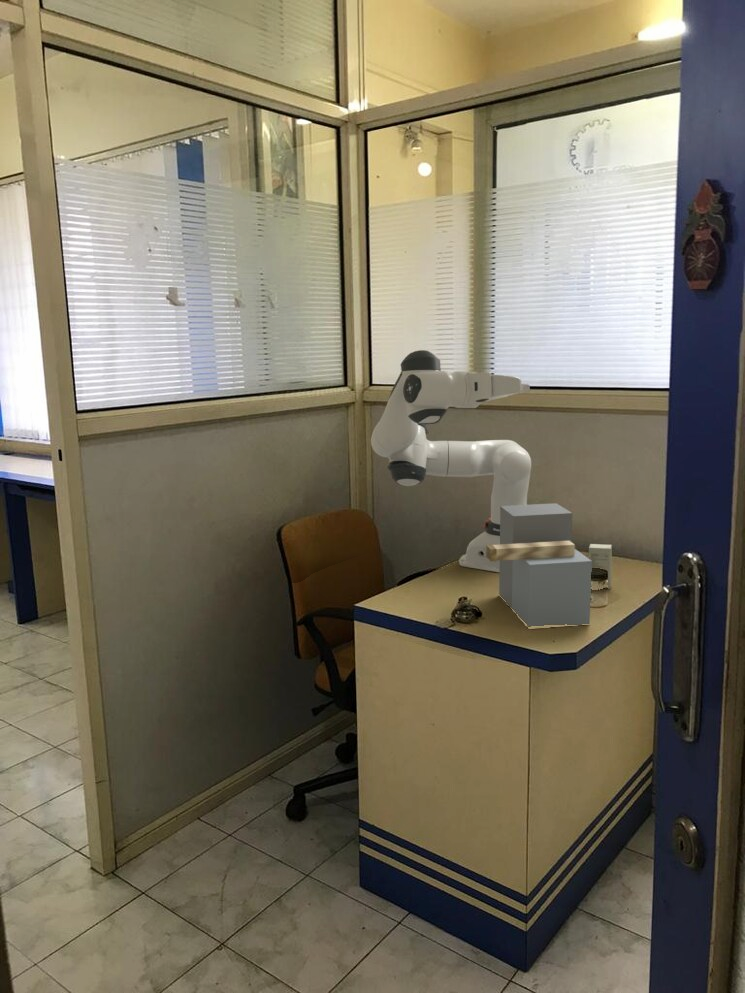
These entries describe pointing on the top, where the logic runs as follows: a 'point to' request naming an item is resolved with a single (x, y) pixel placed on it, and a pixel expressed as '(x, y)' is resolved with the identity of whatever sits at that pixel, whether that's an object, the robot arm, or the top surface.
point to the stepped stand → (544, 568)
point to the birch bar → (530, 550)
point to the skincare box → (601, 558)
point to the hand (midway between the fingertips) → (518, 390)
